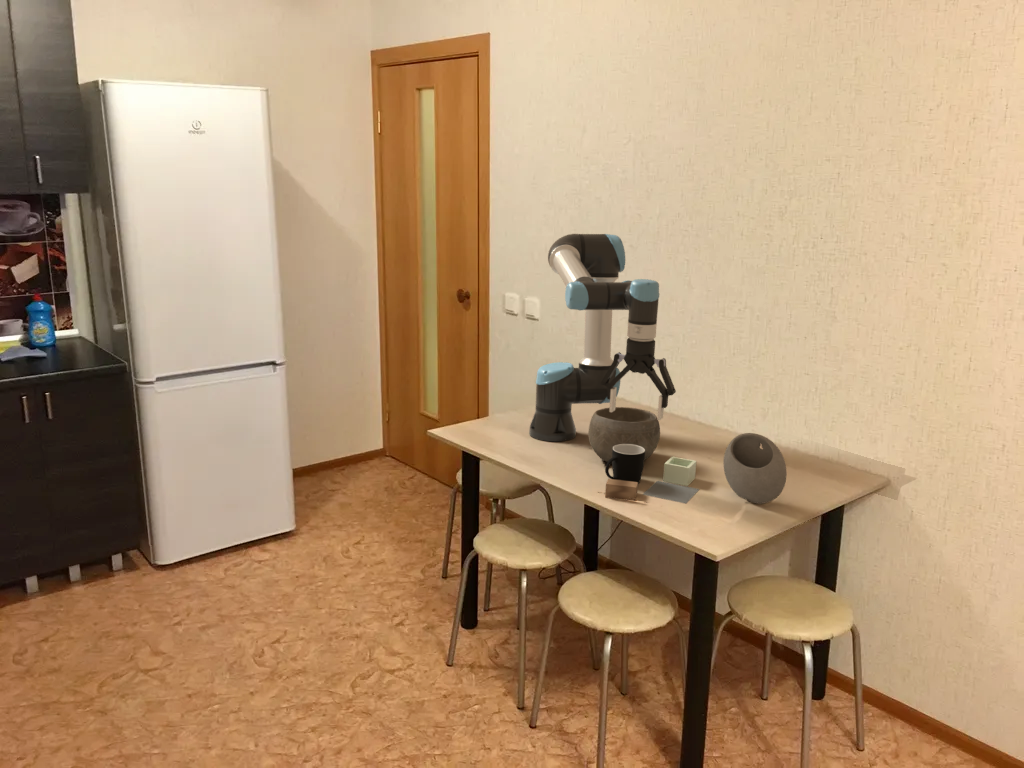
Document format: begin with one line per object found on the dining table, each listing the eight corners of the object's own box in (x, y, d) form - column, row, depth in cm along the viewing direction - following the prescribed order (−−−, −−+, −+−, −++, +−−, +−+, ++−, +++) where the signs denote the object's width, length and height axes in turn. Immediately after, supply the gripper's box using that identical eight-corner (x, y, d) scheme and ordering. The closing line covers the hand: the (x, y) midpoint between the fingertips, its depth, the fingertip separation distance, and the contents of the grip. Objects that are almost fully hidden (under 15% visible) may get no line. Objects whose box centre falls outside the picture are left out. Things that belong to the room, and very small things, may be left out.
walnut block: (605, 497, 226) (605, 483, 225) (607, 492, 229) (608, 478, 228) (635, 501, 224) (636, 487, 223) (637, 496, 228) (638, 482, 227)
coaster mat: (642, 497, 226) (642, 494, 226) (657, 483, 237) (657, 480, 236) (685, 506, 221) (686, 503, 221) (699, 491, 231) (699, 489, 231)
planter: (713, 494, 230) (719, 428, 225) (728, 488, 234) (735, 423, 230) (774, 515, 216) (781, 446, 212) (789, 509, 221) (797, 440, 216)
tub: (662, 483, 236) (664, 463, 235) (670, 476, 242) (672, 456, 241) (687, 488, 233) (688, 468, 232) (694, 481, 239) (696, 460, 238)
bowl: (616, 445, 268) (619, 399, 264) (671, 462, 254) (675, 414, 250) (573, 460, 254) (575, 411, 250) (628, 479, 240) (631, 428, 236)
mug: (629, 475, 242) (631, 442, 239) (649, 486, 234) (652, 451, 232) (595, 482, 236) (597, 448, 233) (614, 493, 228) (617, 457, 226)
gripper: (592, 335, 228) (588, 411, 233) (683, 346, 217) (676, 425, 222) (602, 330, 234) (597, 404, 240) (691, 341, 223) (684, 418, 229)
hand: (635, 415), depth 231 cm, fingers open, 13 cm apart
